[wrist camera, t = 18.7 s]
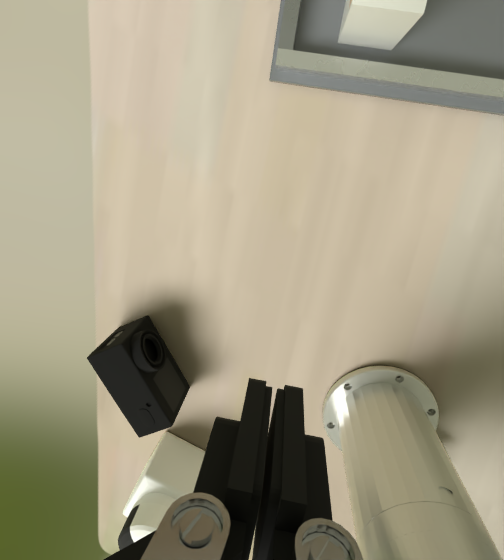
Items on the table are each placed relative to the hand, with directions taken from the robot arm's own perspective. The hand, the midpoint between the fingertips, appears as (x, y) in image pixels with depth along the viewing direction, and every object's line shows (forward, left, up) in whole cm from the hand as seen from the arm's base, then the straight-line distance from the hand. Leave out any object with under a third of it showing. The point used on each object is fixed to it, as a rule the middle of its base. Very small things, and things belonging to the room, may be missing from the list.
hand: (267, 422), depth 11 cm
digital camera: (0, +20, -27) cm, 34 cm away
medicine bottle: (-12, +30, -27) cm, 42 cm away
